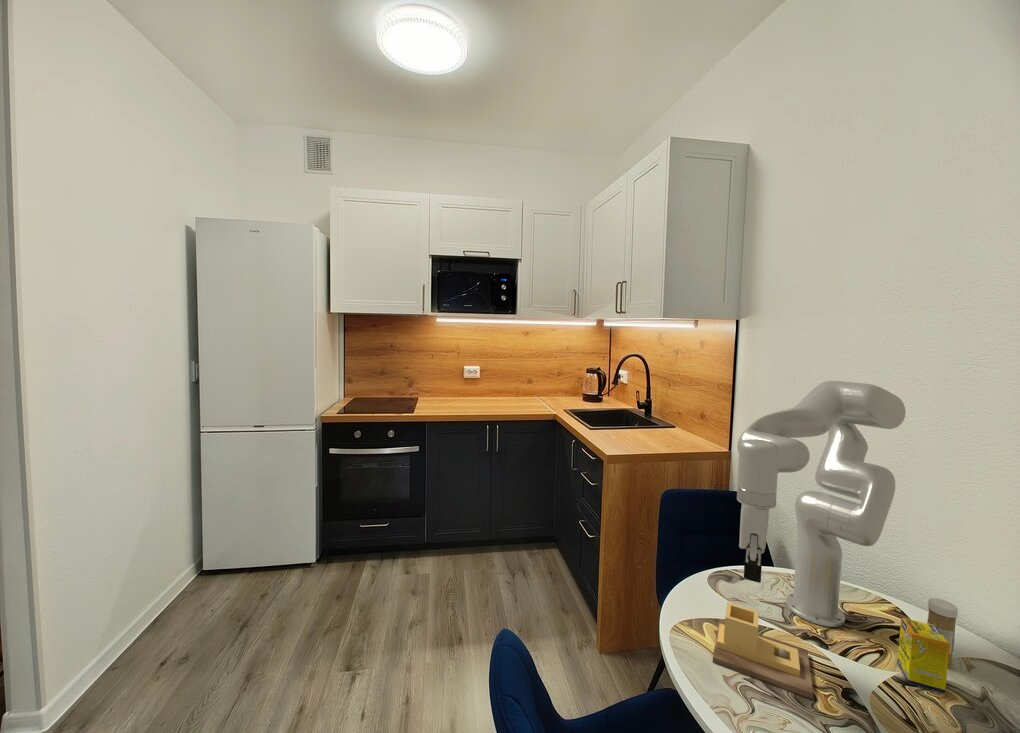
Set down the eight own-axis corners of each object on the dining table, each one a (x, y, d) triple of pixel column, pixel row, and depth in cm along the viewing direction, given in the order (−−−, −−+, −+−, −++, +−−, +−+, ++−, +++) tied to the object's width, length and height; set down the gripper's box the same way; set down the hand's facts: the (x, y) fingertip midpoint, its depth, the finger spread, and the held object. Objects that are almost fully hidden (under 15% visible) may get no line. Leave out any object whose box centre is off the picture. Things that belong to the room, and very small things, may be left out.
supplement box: (896, 663, 93) (900, 616, 93) (932, 673, 91) (936, 625, 90) (907, 683, 88) (911, 633, 87) (946, 694, 85) (951, 643, 85)
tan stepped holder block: (716, 647, 95) (718, 615, 95) (719, 629, 101) (721, 599, 101) (799, 676, 87) (802, 642, 87) (797, 655, 93) (799, 623, 93)
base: (718, 625, 105) (719, 605, 104) (806, 654, 95) (808, 632, 95) (712, 661, 93) (713, 639, 92) (813, 699, 83) (814, 674, 83)
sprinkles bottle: (954, 663, 94) (960, 605, 93) (949, 671, 91) (955, 612, 90) (926, 650, 98) (931, 594, 97) (920, 658, 95) (925, 601, 94)
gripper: (739, 480, 103) (736, 548, 105) (734, 506, 88) (731, 583, 90) (775, 486, 99) (772, 556, 101) (776, 514, 85) (772, 595, 86)
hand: (752, 569), depth 95 cm, fingers open, 9 cm apart
